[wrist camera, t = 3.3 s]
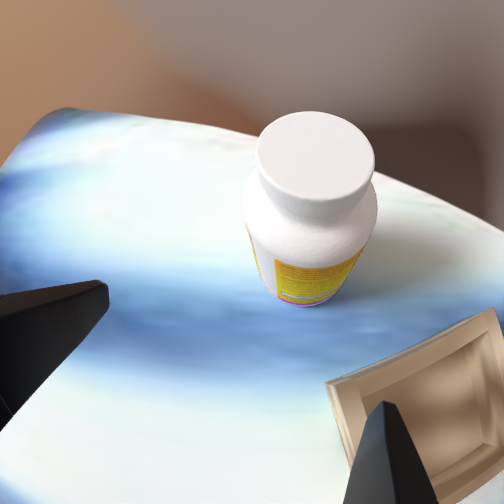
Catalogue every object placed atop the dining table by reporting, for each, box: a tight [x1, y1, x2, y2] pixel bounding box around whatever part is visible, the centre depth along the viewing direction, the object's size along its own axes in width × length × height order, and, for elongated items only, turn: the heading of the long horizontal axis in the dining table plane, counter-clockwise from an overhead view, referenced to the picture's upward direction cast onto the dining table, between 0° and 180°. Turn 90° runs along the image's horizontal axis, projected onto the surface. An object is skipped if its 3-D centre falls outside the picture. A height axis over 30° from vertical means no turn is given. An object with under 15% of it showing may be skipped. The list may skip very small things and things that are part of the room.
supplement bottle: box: [242, 111, 378, 307], centre depth 17 cm, size 7×7×13 cm
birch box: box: [325, 307, 504, 504], centre depth 15 cm, size 12×12×5 cm
